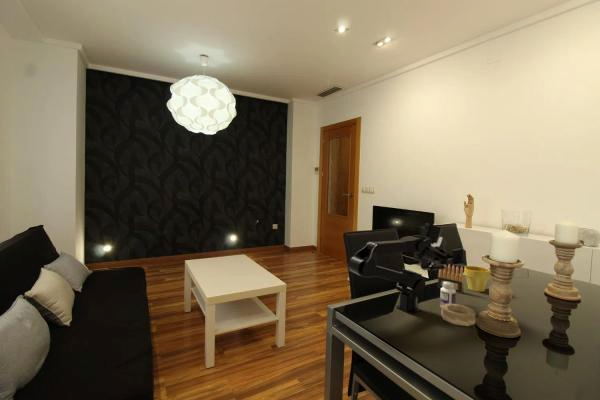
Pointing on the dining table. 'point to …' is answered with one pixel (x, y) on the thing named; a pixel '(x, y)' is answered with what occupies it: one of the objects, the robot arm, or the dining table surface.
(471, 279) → the plant pot
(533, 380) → the dining table surface
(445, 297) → the pill bottle
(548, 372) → the dining table surface
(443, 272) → the ammunition clip
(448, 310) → the beige ring washer
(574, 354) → the dining table surface
